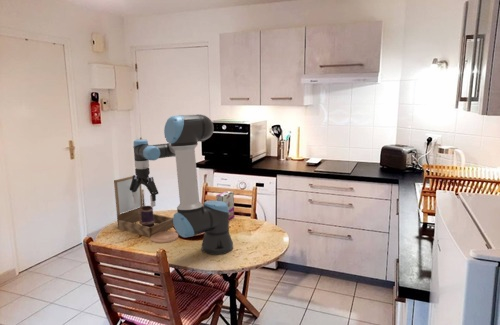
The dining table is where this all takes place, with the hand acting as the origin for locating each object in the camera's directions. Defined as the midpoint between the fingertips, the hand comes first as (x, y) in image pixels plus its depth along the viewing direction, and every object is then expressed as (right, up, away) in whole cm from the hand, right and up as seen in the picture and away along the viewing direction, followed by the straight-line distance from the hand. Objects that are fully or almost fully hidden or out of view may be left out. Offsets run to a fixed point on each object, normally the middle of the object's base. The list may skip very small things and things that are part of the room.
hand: (144, 204), depth 198 cm
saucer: (+14, -16, -13) cm, 25 cm away
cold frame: (0, -13, +2) cm, 14 cm away
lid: (-10, -4, +7) cm, 13 cm away
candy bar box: (+45, -11, +14) cm, 48 cm away
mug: (0, -14, +2) cm, 14 cm away
